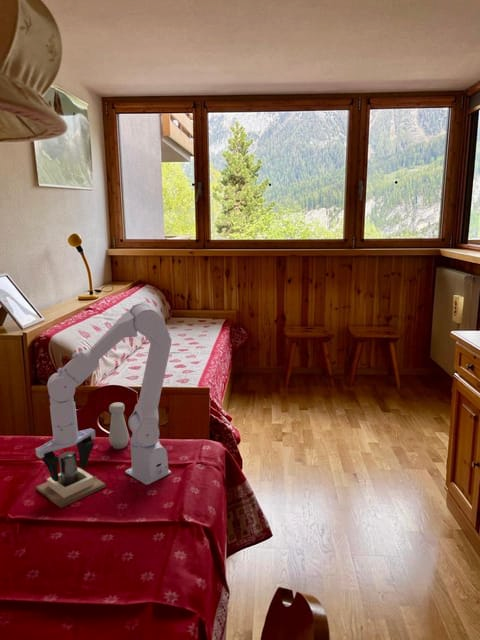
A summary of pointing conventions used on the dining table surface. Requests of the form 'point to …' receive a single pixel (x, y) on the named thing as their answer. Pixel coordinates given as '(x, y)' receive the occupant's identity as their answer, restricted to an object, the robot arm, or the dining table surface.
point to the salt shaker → (118, 426)
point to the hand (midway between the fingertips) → (69, 473)
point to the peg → (68, 468)
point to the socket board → (70, 488)
